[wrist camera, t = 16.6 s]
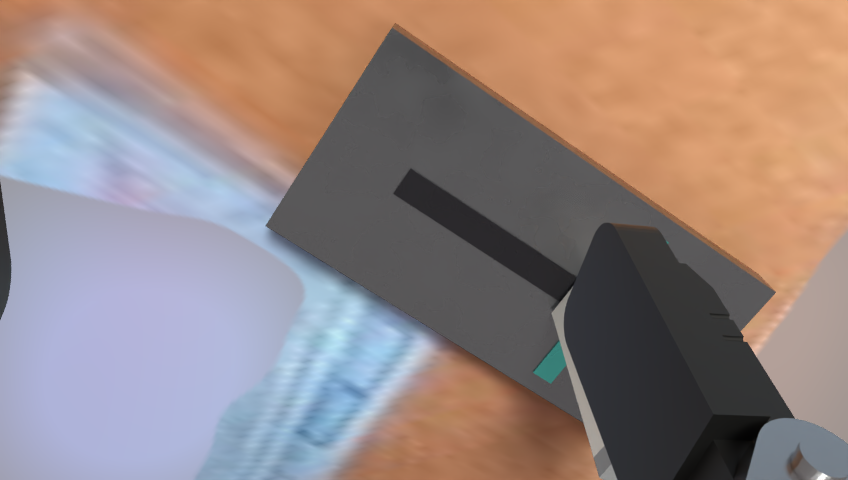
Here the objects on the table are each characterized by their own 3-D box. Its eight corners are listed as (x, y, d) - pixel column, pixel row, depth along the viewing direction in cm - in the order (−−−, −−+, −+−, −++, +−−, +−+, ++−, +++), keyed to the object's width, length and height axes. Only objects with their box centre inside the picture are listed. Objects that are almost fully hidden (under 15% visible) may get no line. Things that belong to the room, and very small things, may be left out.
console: (275, 211, 43) (265, 226, 41) (395, 23, 40) (391, 27, 37) (621, 427, 47) (630, 453, 45) (758, 274, 44) (776, 293, 41)
